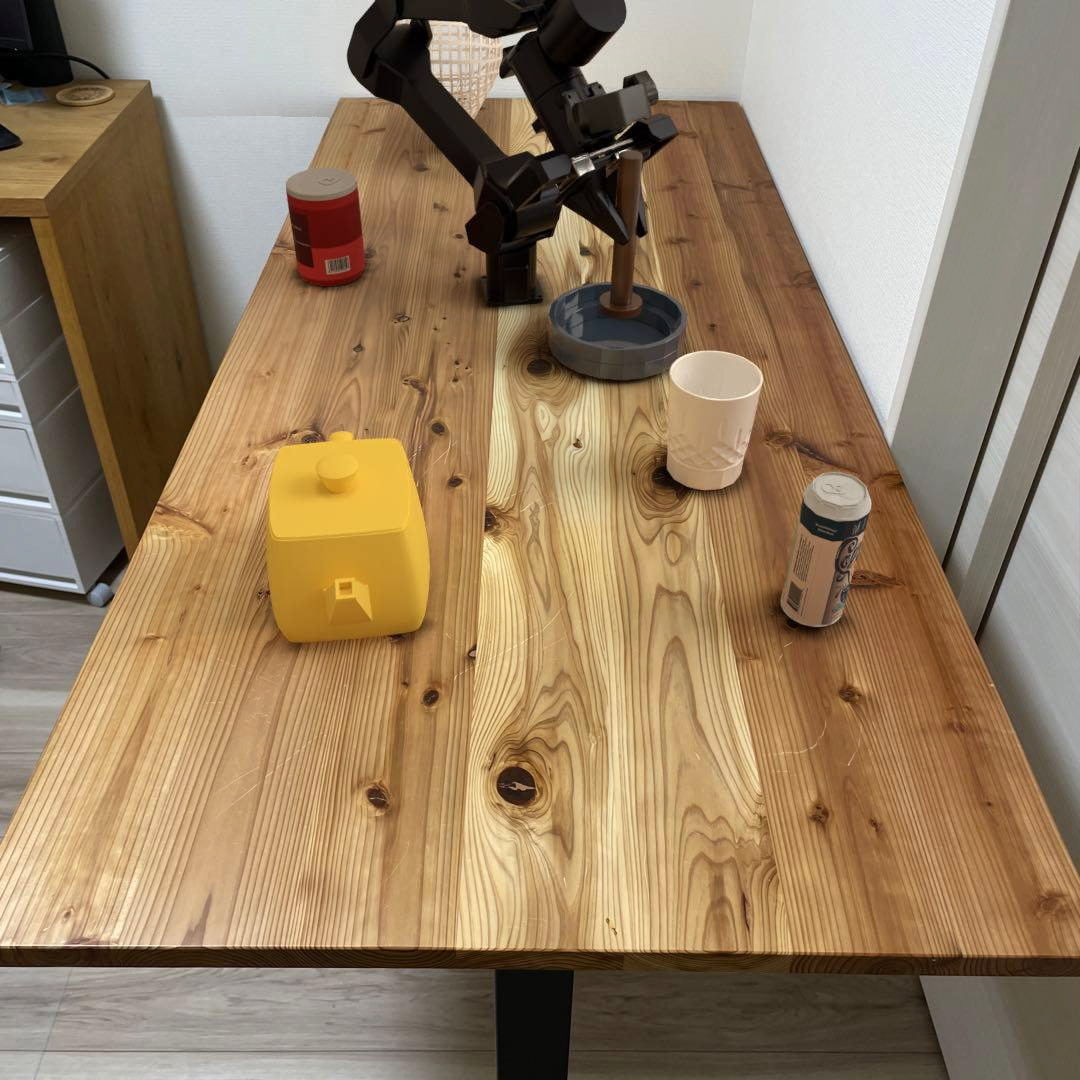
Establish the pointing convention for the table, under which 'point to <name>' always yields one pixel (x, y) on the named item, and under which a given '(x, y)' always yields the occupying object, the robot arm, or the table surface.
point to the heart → (488, 74)
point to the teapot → (345, 541)
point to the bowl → (616, 333)
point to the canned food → (326, 226)
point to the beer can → (825, 548)
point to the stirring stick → (627, 203)
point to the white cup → (710, 417)
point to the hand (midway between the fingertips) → (635, 239)
